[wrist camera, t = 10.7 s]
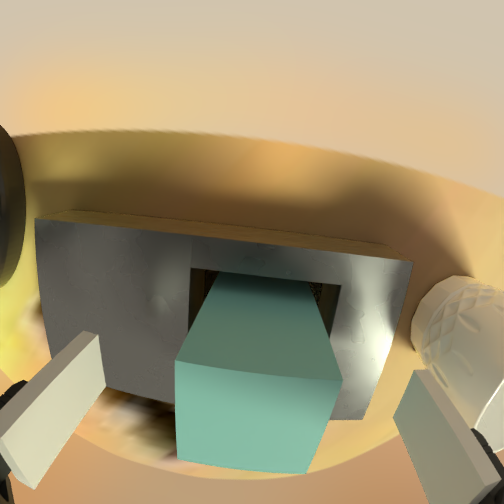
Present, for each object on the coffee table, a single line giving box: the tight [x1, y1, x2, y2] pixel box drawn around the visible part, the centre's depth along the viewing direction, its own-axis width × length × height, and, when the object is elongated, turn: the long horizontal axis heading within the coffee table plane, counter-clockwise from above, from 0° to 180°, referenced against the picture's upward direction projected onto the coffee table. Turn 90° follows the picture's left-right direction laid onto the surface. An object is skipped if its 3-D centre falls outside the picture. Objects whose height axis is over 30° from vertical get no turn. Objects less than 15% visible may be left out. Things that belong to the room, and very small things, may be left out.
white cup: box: [410, 275, 504, 453], centre depth 13 cm, size 8×8×10 cm
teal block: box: [175, 271, 343, 474], centre depth 14 cm, size 5×5×10 cm
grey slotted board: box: [35, 210, 413, 420], centre depth 17 cm, size 20×10×4 cm, turn 84°
